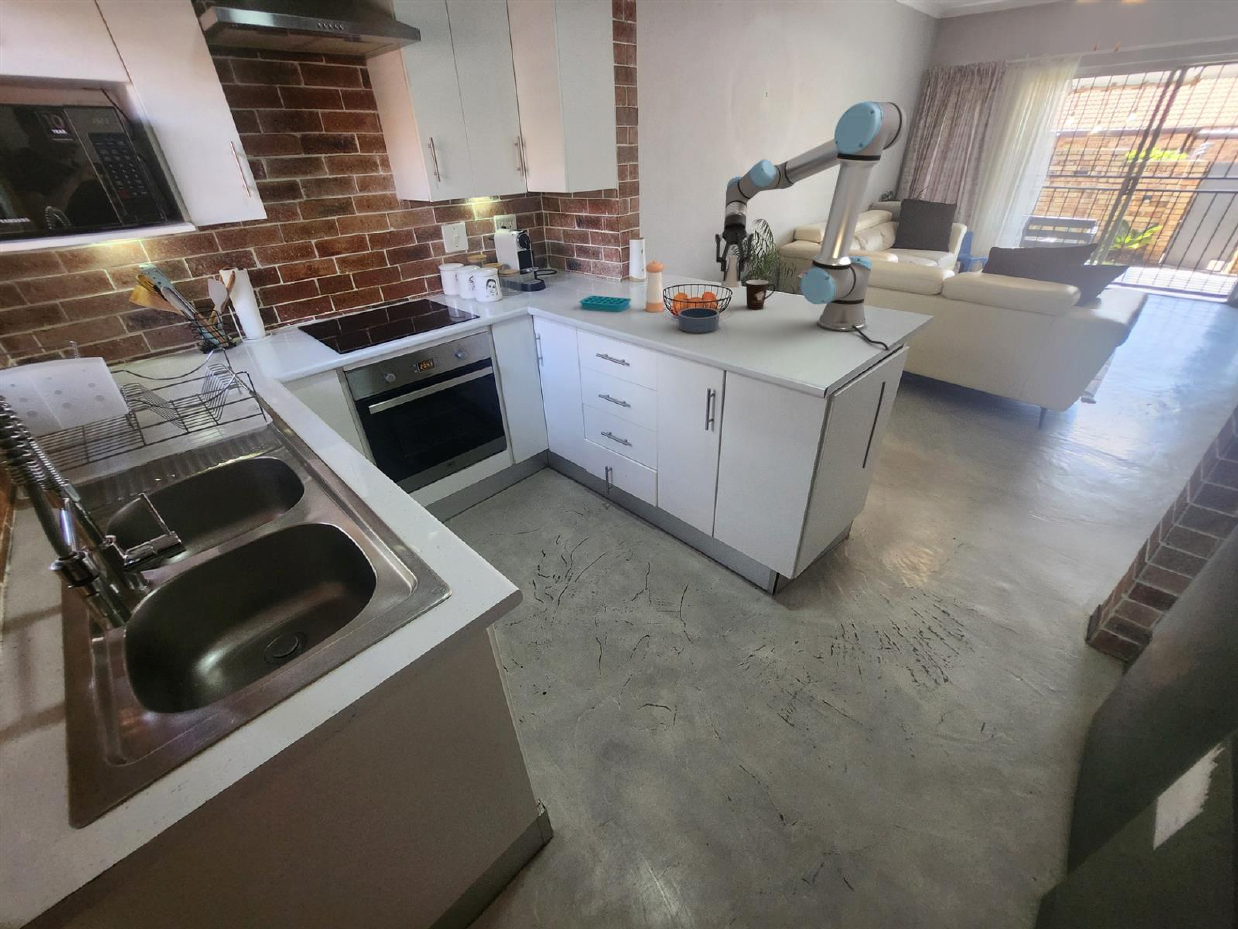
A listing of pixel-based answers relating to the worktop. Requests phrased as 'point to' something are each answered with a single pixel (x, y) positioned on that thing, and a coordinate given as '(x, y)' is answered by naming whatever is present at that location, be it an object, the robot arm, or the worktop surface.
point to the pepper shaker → (654, 287)
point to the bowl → (698, 320)
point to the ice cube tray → (605, 303)
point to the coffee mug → (757, 293)
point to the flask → (732, 273)
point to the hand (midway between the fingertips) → (731, 278)
